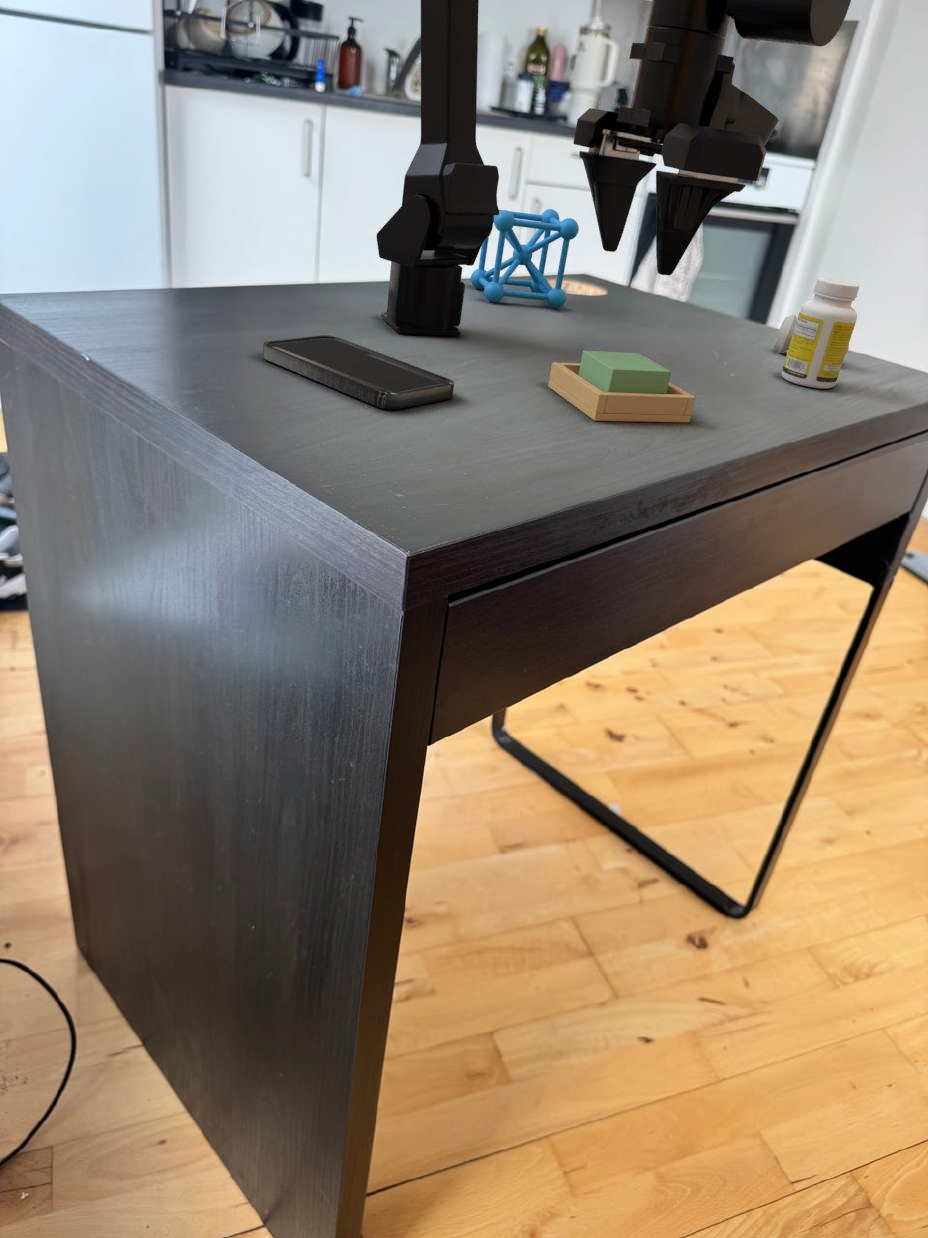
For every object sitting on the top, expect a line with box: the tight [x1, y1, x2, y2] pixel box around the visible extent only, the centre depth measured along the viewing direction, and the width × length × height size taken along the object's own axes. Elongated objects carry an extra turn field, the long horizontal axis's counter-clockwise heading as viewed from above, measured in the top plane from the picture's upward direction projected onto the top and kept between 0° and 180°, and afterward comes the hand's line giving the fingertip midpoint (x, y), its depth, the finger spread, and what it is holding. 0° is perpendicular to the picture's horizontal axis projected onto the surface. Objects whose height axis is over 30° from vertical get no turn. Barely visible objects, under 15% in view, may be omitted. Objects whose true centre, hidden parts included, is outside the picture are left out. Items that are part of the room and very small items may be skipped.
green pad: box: [578, 350, 672, 394], centre depth 76 cm, size 5×5×3 cm
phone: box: [262, 334, 455, 410], centre depth 73 cm, size 8×1×15 cm
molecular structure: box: [470, 208, 580, 309], centre depth 109 cm, size 10×10×10 cm
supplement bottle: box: [781, 276, 860, 390], centre depth 91 cm, size 5×5×10 cm
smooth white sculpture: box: [773, 314, 850, 356], centre depth 103 cm, size 4×8×5 cm
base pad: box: [547, 361, 696, 423], centre depth 76 cm, size 9×9×2 cm
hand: (635, 262), depth 73 cm, fingers open, 9 cm apart
